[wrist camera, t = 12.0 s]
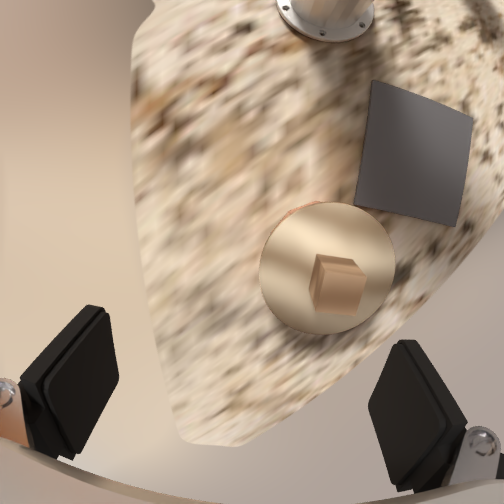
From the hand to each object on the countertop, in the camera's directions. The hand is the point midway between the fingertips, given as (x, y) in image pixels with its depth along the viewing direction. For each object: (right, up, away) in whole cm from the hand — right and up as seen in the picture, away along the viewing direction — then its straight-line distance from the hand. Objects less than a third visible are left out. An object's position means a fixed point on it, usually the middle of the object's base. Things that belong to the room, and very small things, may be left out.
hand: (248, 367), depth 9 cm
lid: (+8, +2, +24) cm, 25 cm away
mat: (+22, +16, +25) cm, 37 cm away
